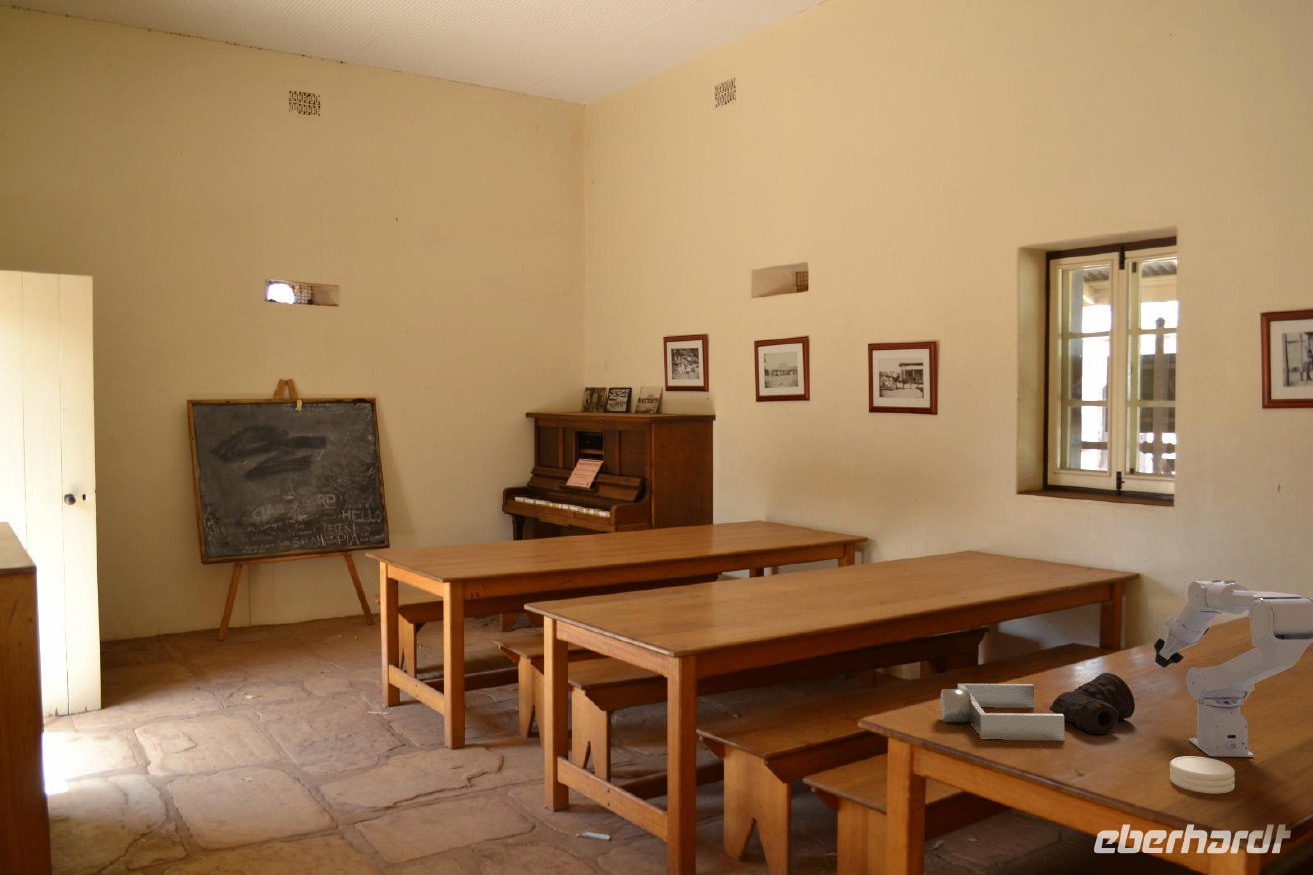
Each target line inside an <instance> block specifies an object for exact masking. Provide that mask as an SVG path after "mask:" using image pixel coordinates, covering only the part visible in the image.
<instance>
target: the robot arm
mask: <svg viewBox="0 0 1313 875" xmlns="http://www.w3.org/2000/svg"><path fill="white" fill-rule="evenodd" d="M1247 610H1248V619H1249V626H1250V639H1251V645H1252V646H1253V648H1251V649H1249V650H1248V651H1246V652H1244V653H1242V654H1239V655H1237V656H1236V657H1233V658H1232V659H1230V660H1228V661H1226V662H1223V663H1222V664H1219V665H1211V666H1205V667H1196V666H1193V667H1190V668H1189V670H1188V672H1186V678H1185V683H1186V688H1187V691H1188V693H1189V695H1190V696H1191V697H1192V699H1193V700H1195V701H1196V706H1197V707H1196V708H1197V710H1196V711H1197V712H1196V714H1197V715H1196V716H1197V717H1196V718H1197V719H1196V724H1197V725H1196V726H1197V731H1196V733H1197V735H1196V736H1197V737H1193V738H1192V737H1190V738H1188V741H1189V742H1190V743H1192V744H1193V745H1194V746H1195V747H1196V748H1198V749H1200V750H1201V751H1202V752H1203V753H1205V754H1206V755H1207V756H1208V757H1209V756H1210V757H1228V758H1229V757H1233V758H1234V757H1237V758H1238V757H1241V758H1243V757H1244V758H1245V757H1246V758H1247V757H1248V758H1251V757H1252V758H1253V757H1254V753H1252V752H1251V751H1249V723H1248V721H1247V719H1246V717H1245V716H1244V715H1243V714H1242V712H1241V706H1242V705H1244V704H1245V703H1244V702H1245V700H1247V699H1248V698H1249V697H1250V694H1251V693H1252V692H1253V691H1255V690H1256V687H1255V686H1256V685H1255V684H1257V683H1259V682H1261V681H1263V680H1266V679H1268V678H1271V677H1273V676H1276V675H1277V674H1279V673H1282V672H1284V671H1287V670H1288V669H1292V668H1293V667H1294V666H1295V665H1296V664H1297V663H1298V662H1299V661H1300V658H1301V657H1302V656H1303V654H1304V652H1305V651H1306V650H1307V648H1308V647H1309V645H1311V644H1312V643H1313V597H1304V596H1303V595H1300V594H1296V593H1295V594H1294V593H1293V594H1292V593H1285V592H1279V591H1262V590H1261V591H1257V590H1253V591H1252V590H1249V589H1248V588H1247V587H1246V586H1245V585H1243V584H1240V583H1237V581H1236V580H1235V579H1224V580H1221V579H1219V578H1218V579H1216V578H1213V579H1211V581H1210V580H1209V581H1207V580H1206V581H1205V580H1204V581H1202V580H1201V581H1200V580H1199V581H1198V580H1194V581H1191V582H1190V583H1189V584H1188V588H1187V600H1186V602H1185V603H1184V605H1183V606H1182V608H1181V609H1180V611H1179V612H1178V614H1177V616H1176V617H1174V616H1169V617H1167V619H1166V620H1165V622H1164V624H1166V625H1167V627H1168V629H1167V633H1166V637H1165V640H1163V639H1162V638H1160V637H1159V638H1158V639H1157V640H1156V642H1154V646H1153V648H1154V651H1155V652H1156V653H1155V657H1154V659H1155V661H1154V662H1155V663H1156V664H1157V665H1158V666H1160V667H1162V668H1163V669H1164V668H1167V667H1169V666H1170V665H1171V664H1178V663H1180V662H1181V661H1182V660H1183V659H1184V656H1183V655H1182V654H1180V653H1179V652H1181V651H1183V650H1185V649H1187V648H1188V649H1189V648H1190V647H1193V646H1196V645H1197V644H1198V643H1199V642H1200V641H1201V640H1202V636H1204V635H1205V634H1206V633H1207V632H1208V631H1209V630H1210V629H1209V627H1210V626H1211V624H1212V623H1213V621H1215V619H1216V617H1217V616H1218V615H1222V614H1223V613H1225V614H1230V615H1240V614H1244V613H1245V612H1247Z"/></svg>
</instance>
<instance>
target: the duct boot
mask: <svg viewBox="0 0 1313 875" xmlns="http://www.w3.org/2000/svg"><path fill="white" fill-rule="evenodd" d="M981 707H993V708H995V709H998V708H999V709H1034V708H1035V685H1034V684H1033V683H957V688H954V689H953V688H951V689H945V688H943V689H942V688H941V691H940V712H941V718H942V721H943V720H944V721H943V722H944V723H964V722H970V723H971V724H972V726H973V727H974V728H975V730H976V732H978V734H979V736H980V737H981V738H990V739H1003V740H1002V741H1054V742H1055V741H1057V742H1058V741H1060V742H1061V741H1062V742H1064V741H1065V719H1064V715H1063V714H1055V713H1011V712H1010V713H1008V712H1007V713H1004V712H1001V713H999V712H998V713H997V712H995V713H993V712H989V713H986V712H985V711H984V708H981ZM993 708H992V709H993ZM970 723H969V724H970ZM971 724H970V725H971ZM972 726H971V727H972ZM973 727H972V728H973ZM975 730H974V731H975ZM976 732H975V733H976ZM979 736H978V737H979Z"/></svg>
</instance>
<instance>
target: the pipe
mask: <svg viewBox="0 0 1313 875" xmlns="http://www.w3.org/2000/svg"><path fill="white" fill-rule="evenodd" d="M1135 704H1136V702H1135V697H1134V695H1133V692H1132V690H1131V689H1130V686H1128V684H1127V683H1126V682H1125V680H1124V679H1122V678H1121V677H1119V676H1118V675H1117V674H1114V673H1110V672H1103V673H1100V674H1099V675H1098V676H1096V677H1094V679H1091V680H1090V681H1088V682H1085V683H1083V684H1082V685H1080V686H1078V688H1075V689H1074V690H1072V691H1065V692H1063V693H1061V694H1059V695H1058V696H1057V697H1056V698H1055V699H1054V700H1053V703H1052V704H1051V705H1050V706H1049V707H1048V709H1049V710H1050V711H1051V712H1053V714H1063V715H1064V720H1066V721H1068V722H1071V723H1074V724H1075V725H1076V727H1077V728H1079V729H1082V730H1083V731H1084V732H1087V733H1089V734H1091V735H1092V734H1093V735H1106V734H1107V735H1108V734H1109V733H1111V732H1112V730H1114V728H1115V727H1116V726H1117V724H1118V722H1119V720H1125V719H1130V718H1131V717H1133V714H1134V713H1135V710H1136V709H1135V708H1136V705H1135Z"/></svg>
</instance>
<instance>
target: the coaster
mask: <svg viewBox="0 0 1313 875" xmlns="http://www.w3.org/2000/svg"><path fill="white" fill-rule="evenodd" d="M1169 767H1170V769H1169V773H1170V775H1169V779H1170V781H1171V782H1172V783H1173V784H1174V785H1175V786H1178V787H1179V788H1181V789H1185V790H1188V791H1192V792H1194V793H1195V792H1197V793H1203V794H1212V795H1215V794H1218V795H1219V794H1225V793H1230V792H1232V791H1233V790H1234V789H1235V786H1236V784H1235V781H1236V778H1235V773H1236V772H1235V769H1234V768H1233V766H1231V765H1230V764H1229V763H1226V762H1224V761H1222V760H1218V759H1215V758H1210V757H1205V756H1195V755H1194V756H1193V755H1190V756H1189V755H1188V756H1178V757H1175V758H1173V759H1172V760H1170V762H1169Z"/></svg>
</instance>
